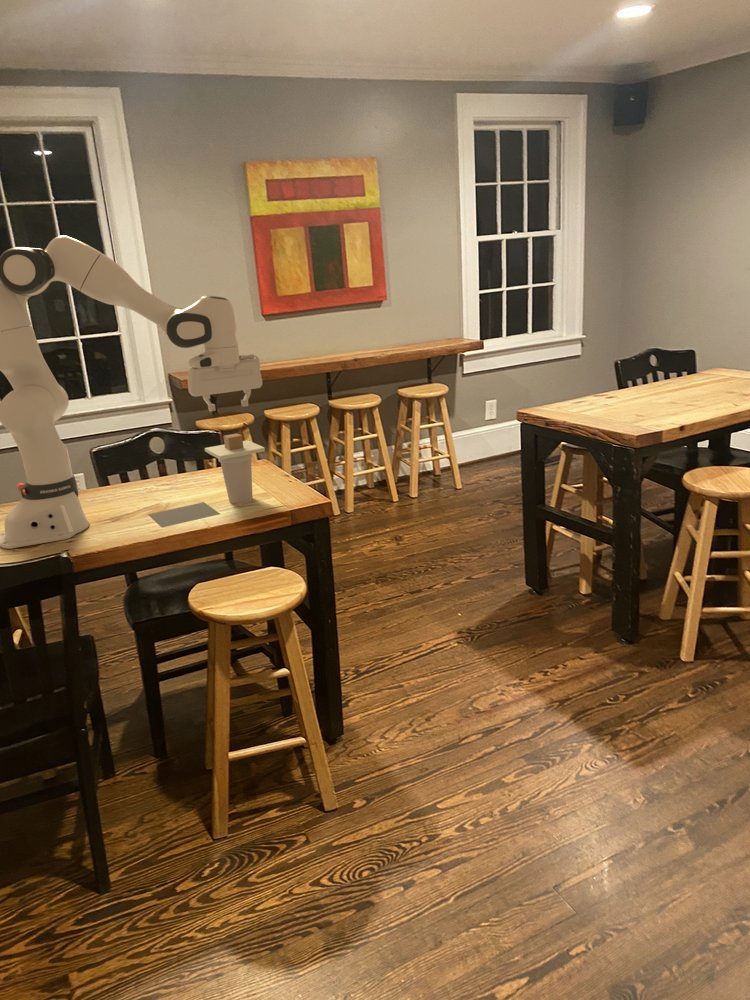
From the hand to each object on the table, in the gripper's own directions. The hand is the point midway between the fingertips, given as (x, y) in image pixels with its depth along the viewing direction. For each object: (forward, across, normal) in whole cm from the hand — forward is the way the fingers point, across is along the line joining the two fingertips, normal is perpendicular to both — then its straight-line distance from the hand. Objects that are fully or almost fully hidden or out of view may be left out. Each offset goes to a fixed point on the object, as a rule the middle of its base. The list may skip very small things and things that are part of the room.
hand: (228, 408), depth 199 cm
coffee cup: (+27, 0, 0) cm, 27 cm away
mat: (+27, +17, +1) cm, 32 cm away
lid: (+12, 0, 0) cm, 12 cm away
